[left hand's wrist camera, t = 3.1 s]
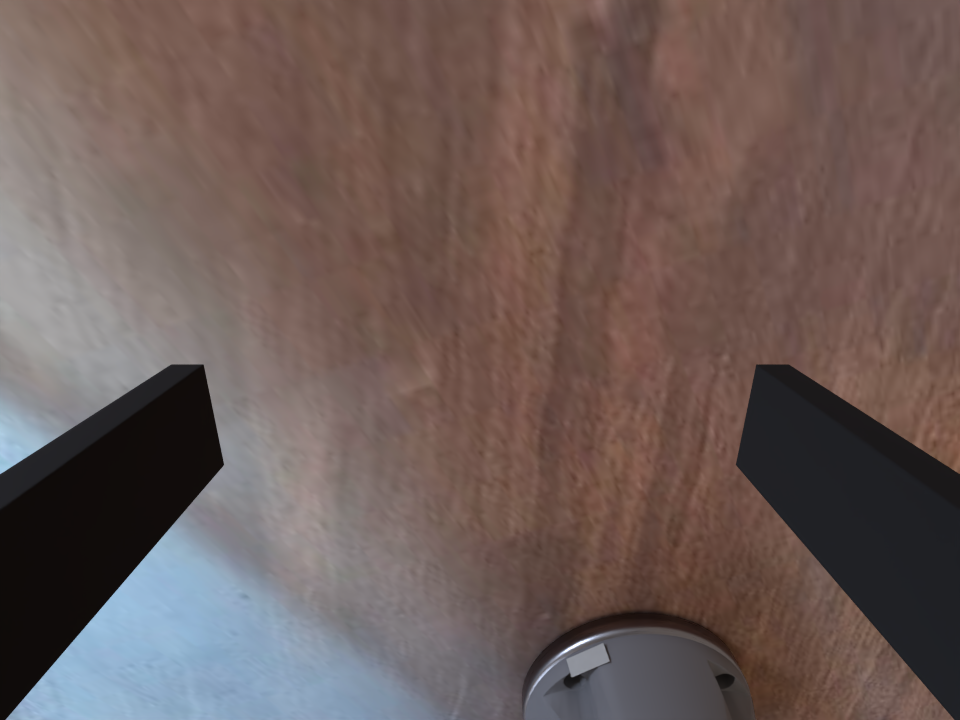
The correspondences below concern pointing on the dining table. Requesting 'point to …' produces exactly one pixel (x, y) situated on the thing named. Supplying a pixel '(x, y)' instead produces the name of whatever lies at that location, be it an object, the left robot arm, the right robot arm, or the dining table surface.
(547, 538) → the dining table surface
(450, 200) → the dining table surface
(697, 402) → the dining table surface
